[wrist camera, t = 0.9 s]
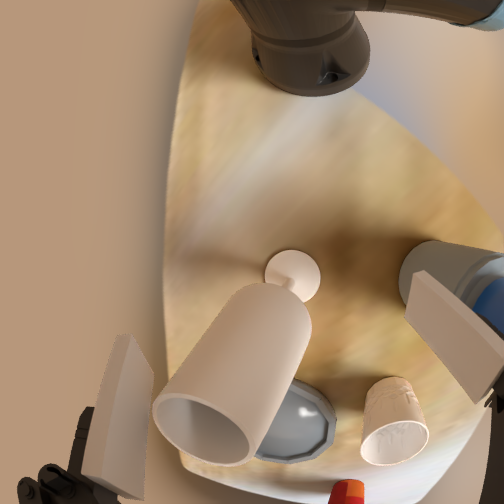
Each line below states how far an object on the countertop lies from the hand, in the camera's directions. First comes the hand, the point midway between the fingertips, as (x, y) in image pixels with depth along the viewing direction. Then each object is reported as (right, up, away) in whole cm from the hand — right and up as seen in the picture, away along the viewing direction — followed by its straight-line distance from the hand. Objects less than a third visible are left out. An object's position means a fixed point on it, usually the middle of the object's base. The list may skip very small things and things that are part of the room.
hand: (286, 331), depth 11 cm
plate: (+2, -22, +24) cm, 33 cm away
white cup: (+17, -16, +18) cm, 30 cm away
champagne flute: (+3, 0, +21) cm, 21 cm away
